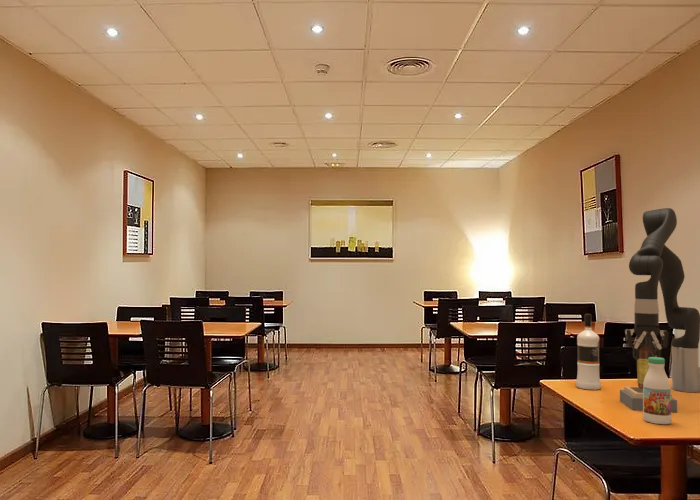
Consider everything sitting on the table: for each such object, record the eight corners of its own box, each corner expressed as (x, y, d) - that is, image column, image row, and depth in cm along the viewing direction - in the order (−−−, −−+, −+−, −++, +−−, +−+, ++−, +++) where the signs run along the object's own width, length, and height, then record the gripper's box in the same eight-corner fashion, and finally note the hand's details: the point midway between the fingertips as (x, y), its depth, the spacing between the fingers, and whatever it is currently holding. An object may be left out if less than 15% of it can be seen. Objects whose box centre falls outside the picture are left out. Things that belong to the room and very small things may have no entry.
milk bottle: (637, 418, 176) (637, 355, 177) (660, 418, 177) (660, 355, 177) (653, 425, 168) (652, 359, 169) (676, 424, 169) (676, 359, 170)
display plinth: (661, 402, 198) (661, 387, 198) (677, 412, 184) (676, 395, 184) (619, 400, 201) (619, 385, 201) (632, 410, 187) (632, 393, 187)
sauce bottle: (660, 390, 189) (659, 333, 190) (640, 389, 190) (640, 332, 191) (653, 386, 195) (653, 331, 196) (634, 386, 197) (634, 330, 197)
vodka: (579, 384, 229) (579, 312, 230) (603, 387, 223) (602, 313, 224) (573, 388, 221) (573, 313, 223) (597, 391, 216) (597, 315, 217)
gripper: (664, 311, 196) (664, 358, 196) (621, 310, 199) (621, 357, 198) (672, 313, 189) (673, 362, 188) (627, 312, 191) (628, 360, 191)
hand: (646, 359), depth 193 cm, fingers closed on sauce bottle, 6 cm apart
